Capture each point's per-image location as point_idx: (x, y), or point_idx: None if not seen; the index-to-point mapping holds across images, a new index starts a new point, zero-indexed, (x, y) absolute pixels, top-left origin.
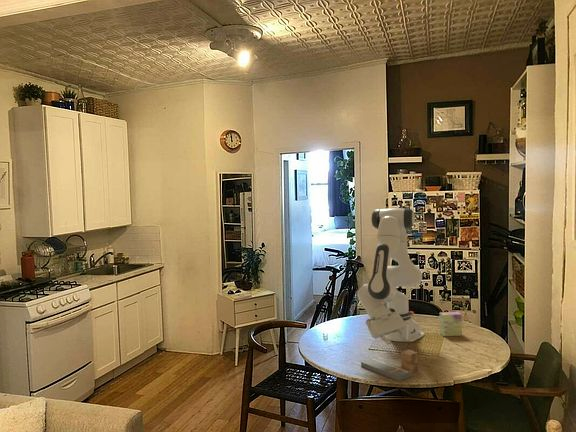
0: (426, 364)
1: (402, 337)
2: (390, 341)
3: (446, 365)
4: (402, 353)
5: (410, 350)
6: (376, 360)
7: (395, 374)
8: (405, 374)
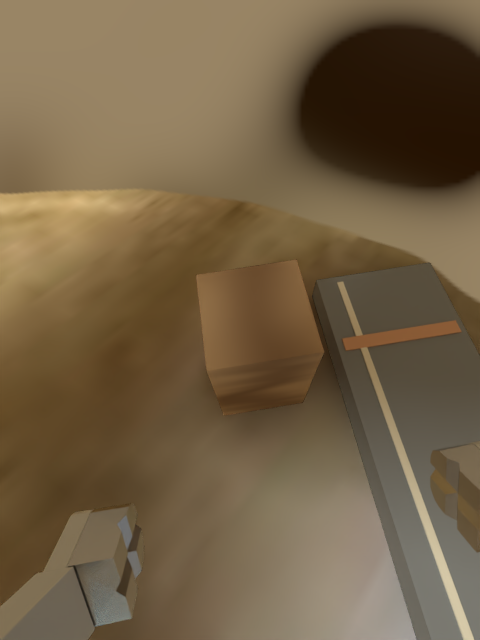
0: (93, 387)
1: (129, 515)
2: (456, 451)
3: (21, 315)
4: (317, 339)
5: (210, 339)
6: (469, 627)
7: (434, 291)
8: (367, 274)
